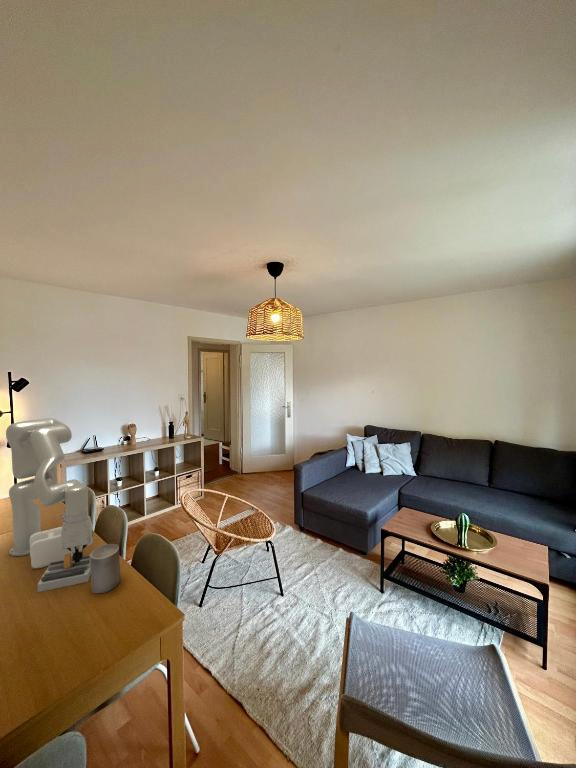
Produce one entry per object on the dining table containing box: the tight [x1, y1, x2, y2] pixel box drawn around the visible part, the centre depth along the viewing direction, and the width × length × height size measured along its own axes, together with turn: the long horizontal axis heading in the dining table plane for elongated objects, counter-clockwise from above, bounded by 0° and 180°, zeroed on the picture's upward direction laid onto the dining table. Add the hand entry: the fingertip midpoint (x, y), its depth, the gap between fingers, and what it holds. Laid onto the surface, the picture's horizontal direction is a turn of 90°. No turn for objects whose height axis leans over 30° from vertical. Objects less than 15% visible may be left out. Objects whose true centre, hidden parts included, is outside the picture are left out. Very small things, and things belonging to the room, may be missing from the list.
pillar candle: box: [89, 543, 121, 594], centre depth 117 cm, size 10×10×15 cm
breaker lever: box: [63, 553, 73, 569], centre depth 121 cm, size 3×3×6 cm
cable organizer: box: [29, 526, 73, 569], centre depth 133 cm, size 15×11×12 cm
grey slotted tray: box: [37, 554, 91, 593], centre depth 122 cm, size 12×16×5 cm
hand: (78, 560), depth 123 cm, fingers closed
